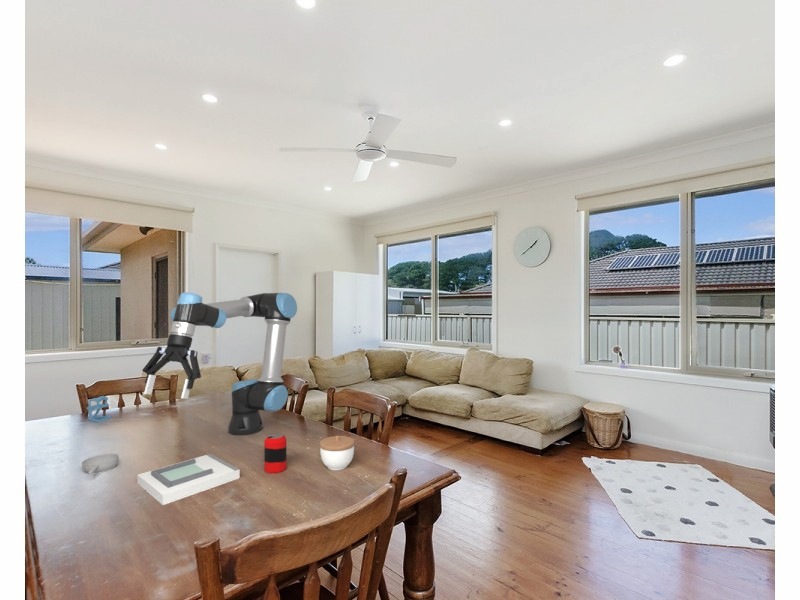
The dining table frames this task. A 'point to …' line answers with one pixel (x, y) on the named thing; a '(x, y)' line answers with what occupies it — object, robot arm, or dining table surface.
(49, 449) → the dining table surface
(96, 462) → the saucepan
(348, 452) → the lidded bowl
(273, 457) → the soda can
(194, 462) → the dock
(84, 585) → the dining table surface
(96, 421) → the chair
